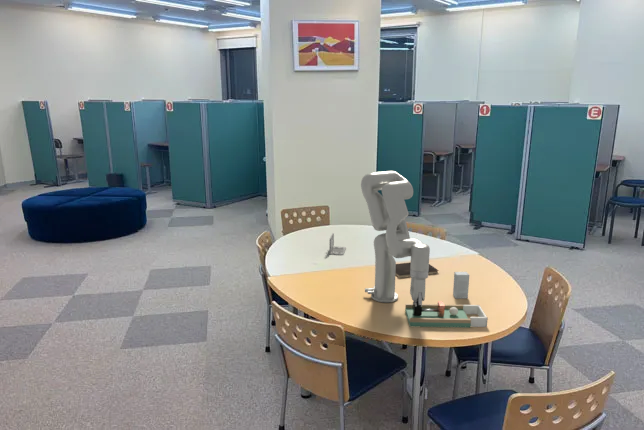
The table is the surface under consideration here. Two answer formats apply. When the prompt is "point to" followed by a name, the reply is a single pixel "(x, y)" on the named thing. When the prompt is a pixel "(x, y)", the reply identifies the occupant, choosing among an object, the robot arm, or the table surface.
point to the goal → (476, 321)
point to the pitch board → (437, 317)
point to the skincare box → (461, 285)
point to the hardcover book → (404, 270)
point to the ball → (453, 311)
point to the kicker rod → (439, 309)
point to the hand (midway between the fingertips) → (417, 312)
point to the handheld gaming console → (334, 249)
